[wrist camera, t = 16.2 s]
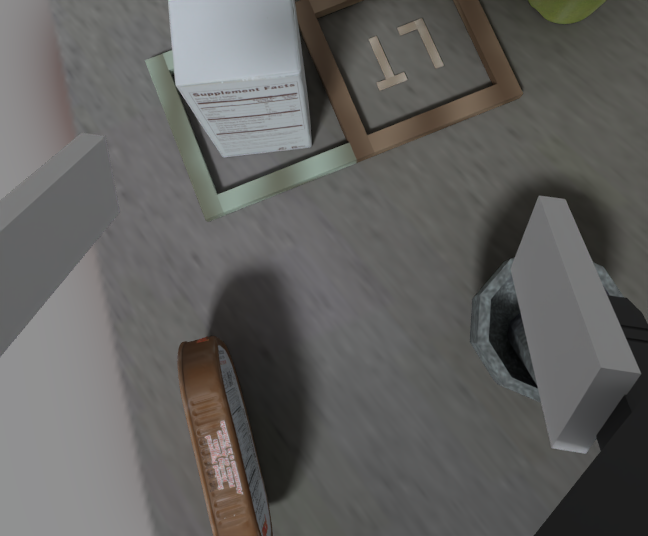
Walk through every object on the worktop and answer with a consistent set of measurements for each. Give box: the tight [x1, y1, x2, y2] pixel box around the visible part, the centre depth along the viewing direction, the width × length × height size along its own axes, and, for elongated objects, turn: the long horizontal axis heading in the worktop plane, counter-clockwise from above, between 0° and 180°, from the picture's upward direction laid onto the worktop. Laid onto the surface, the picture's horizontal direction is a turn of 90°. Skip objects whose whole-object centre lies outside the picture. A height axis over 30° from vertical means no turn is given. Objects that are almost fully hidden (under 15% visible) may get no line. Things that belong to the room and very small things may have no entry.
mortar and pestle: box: [470, 258, 623, 439], centre depth 34 cm, size 11×9×12 cm
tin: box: [177, 336, 273, 536], centre depth 35 cm, size 15×3×8 cm, turn 15°
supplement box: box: [168, 0, 312, 157], centre depth 36 cm, size 7×7×13 cm
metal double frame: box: [145, 0, 523, 222], centre depth 42 cm, size 26×14×1 cm, turn 112°
